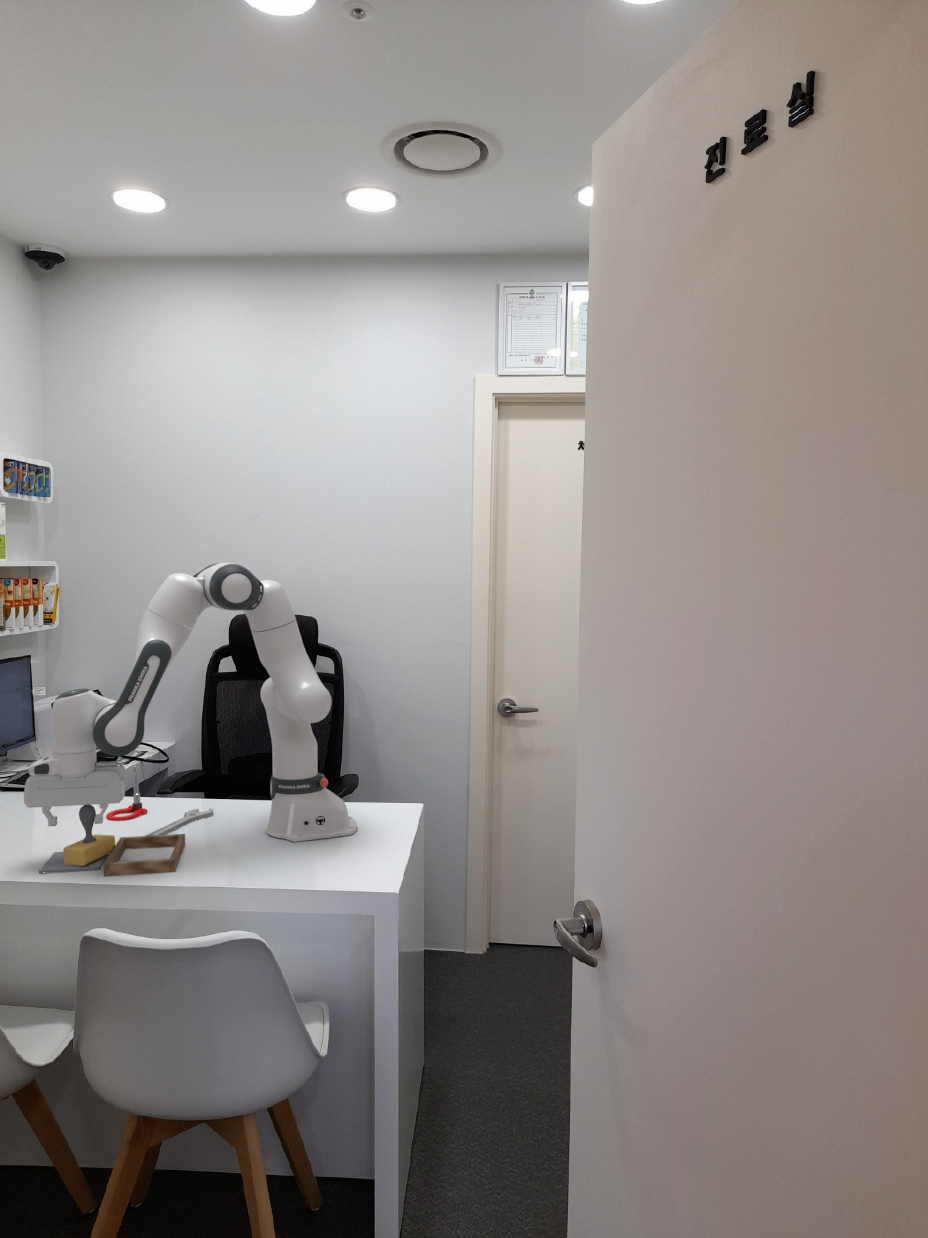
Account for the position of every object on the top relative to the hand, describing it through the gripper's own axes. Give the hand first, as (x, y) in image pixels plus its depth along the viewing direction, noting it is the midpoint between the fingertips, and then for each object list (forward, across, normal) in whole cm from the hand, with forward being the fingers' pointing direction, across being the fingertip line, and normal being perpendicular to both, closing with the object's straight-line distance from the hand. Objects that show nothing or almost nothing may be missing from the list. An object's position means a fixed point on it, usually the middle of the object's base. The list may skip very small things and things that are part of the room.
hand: (76, 824), depth 182 cm
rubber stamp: (+8, -3, 0) cm, 8 cm away
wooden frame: (+9, -15, +1) cm, 17 cm away
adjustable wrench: (+9, -18, -24) cm, 31 cm away
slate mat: (+8, 0, 0) cm, 9 cm away
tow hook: (+9, -4, -35) cm, 36 cm away
